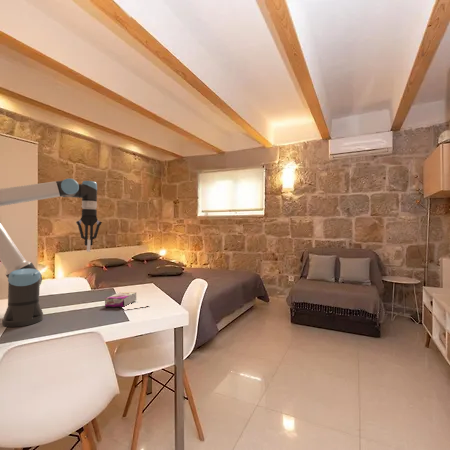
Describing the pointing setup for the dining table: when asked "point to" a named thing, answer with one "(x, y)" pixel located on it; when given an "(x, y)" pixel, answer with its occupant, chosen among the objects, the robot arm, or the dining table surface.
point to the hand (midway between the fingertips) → (88, 251)
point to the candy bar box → (120, 299)
